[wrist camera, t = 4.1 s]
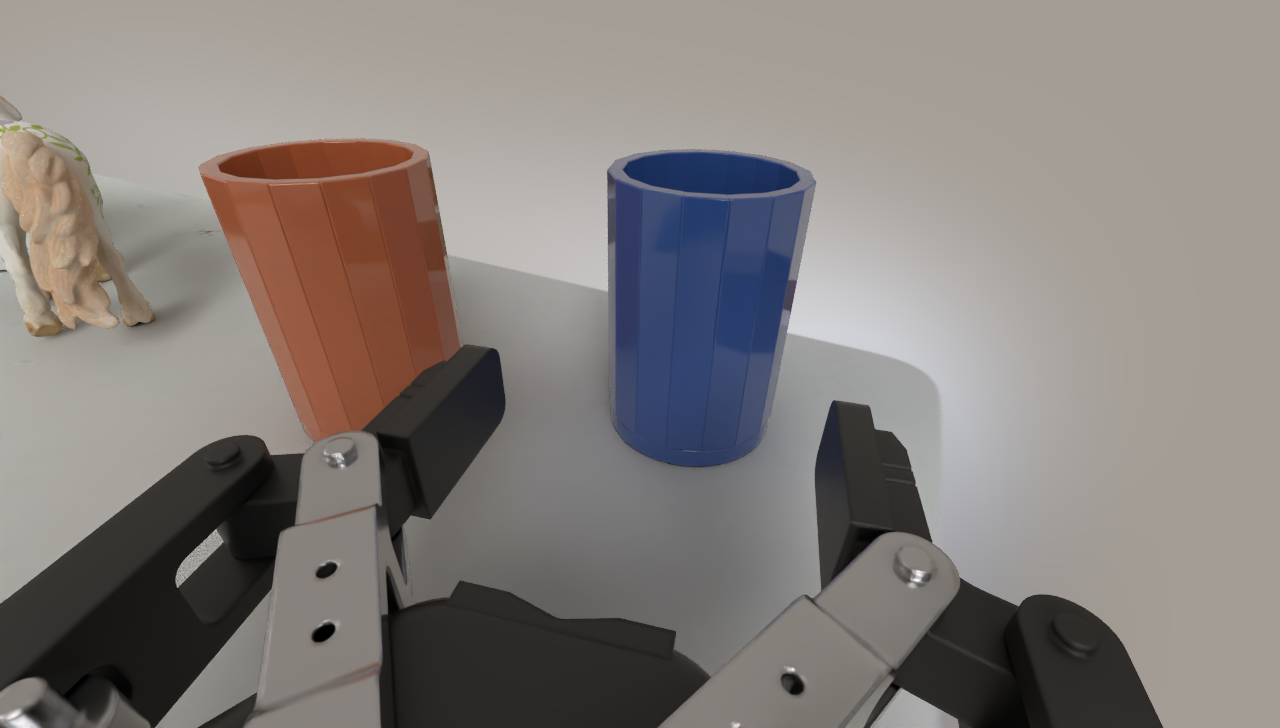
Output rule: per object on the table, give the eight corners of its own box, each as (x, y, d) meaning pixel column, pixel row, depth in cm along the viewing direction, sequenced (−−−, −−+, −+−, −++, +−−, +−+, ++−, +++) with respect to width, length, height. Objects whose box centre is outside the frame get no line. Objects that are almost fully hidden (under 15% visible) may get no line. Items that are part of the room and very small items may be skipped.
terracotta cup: (494, 412, 23) (456, 165, 17) (321, 478, 19) (205, 195, 14) (439, 346, 27) (395, 132, 22) (290, 389, 24) (194, 149, 18)
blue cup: (799, 424, 22) (858, 178, 17) (679, 493, 19) (704, 212, 14) (694, 355, 27) (714, 143, 21) (581, 401, 23) (570, 161, 18)
